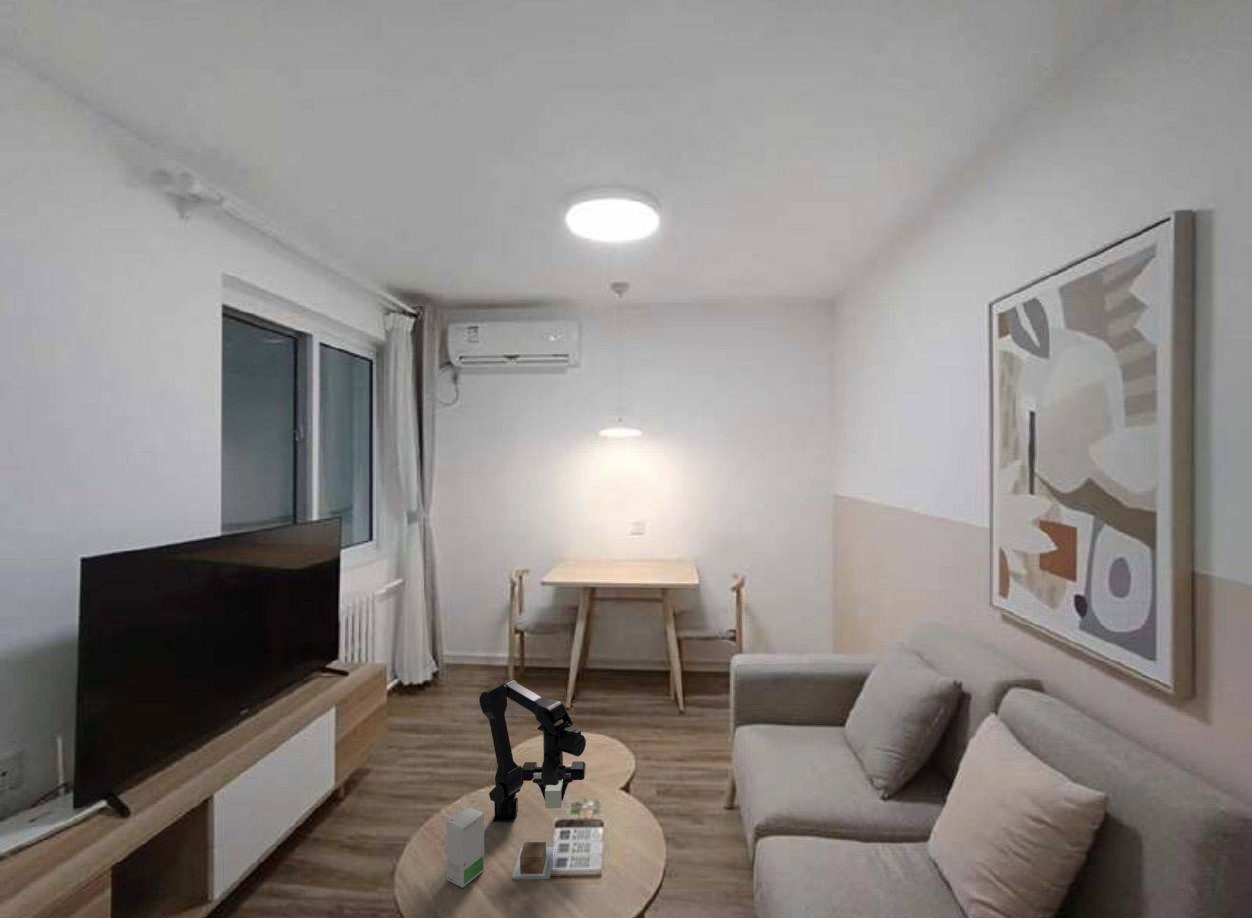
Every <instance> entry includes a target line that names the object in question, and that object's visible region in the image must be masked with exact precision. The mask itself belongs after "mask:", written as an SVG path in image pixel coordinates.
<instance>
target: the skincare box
mask: <svg viewBox="0 0 1252 918" xmlns="http://www.w3.org/2000/svg"><path fill="white" fill-rule="evenodd" d="M445 824H446V880H447V881H448V882H450V883H452V884H453V885H456V886H458V887H460V888H464V887H466V886H467V885H468V884H469V883H471V882H472V881H473V880H474V879H475V878H477V877H478V876H480V875H481V874H482V873H483V872H484V871H485V815H484V812H483V811H480V810H478V809H475V808H472V807H470V806H468V807H466V808H465V809H463V810H461V811H459V812H457V813H455V814H454V815H453V816H452V817H450V818H448V819H447V820H446V822H445Z"/></svg>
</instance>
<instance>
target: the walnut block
mask: <svg viewBox="0 0 1252 918" xmlns="http://www.w3.org/2000/svg"><path fill="white" fill-rule="evenodd" d="M522 847H523V849H522V852H521V855H520V874H543V869H544V865H545V861H546V847H547V842H545V841H532V842H531V841H529V842H528V841H524V843H523V846H522Z"/></svg>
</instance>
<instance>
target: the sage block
mask: <svg viewBox="0 0 1252 918" xmlns="http://www.w3.org/2000/svg"><path fill="white" fill-rule="evenodd" d="M562 785H563V781H559V783H558V785H555V786H553V785H547V786H546V789H545V800H544V804H545V805H544V808H545V809H561V808H562V804H563V801H564V799H563V800H562V798H561V795H562Z"/></svg>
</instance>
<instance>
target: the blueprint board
mask: <svg viewBox="0 0 1252 918" xmlns="http://www.w3.org/2000/svg"><path fill="white" fill-rule="evenodd" d="M553 847H554V846H546V861H545V865H544V869H543V874H520V855H521V852H522V849H523V846H520V848H519V852H518V856H517V858H516V859H517V860H516V862H515V866H514V870H513V873H512V876H511V880H515V881H516V880H550V877H551V875H552V869H553V868H552V867H553V864H552V863H554V859H553V850H554V848H553ZM551 868H552V869H551Z"/></svg>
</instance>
